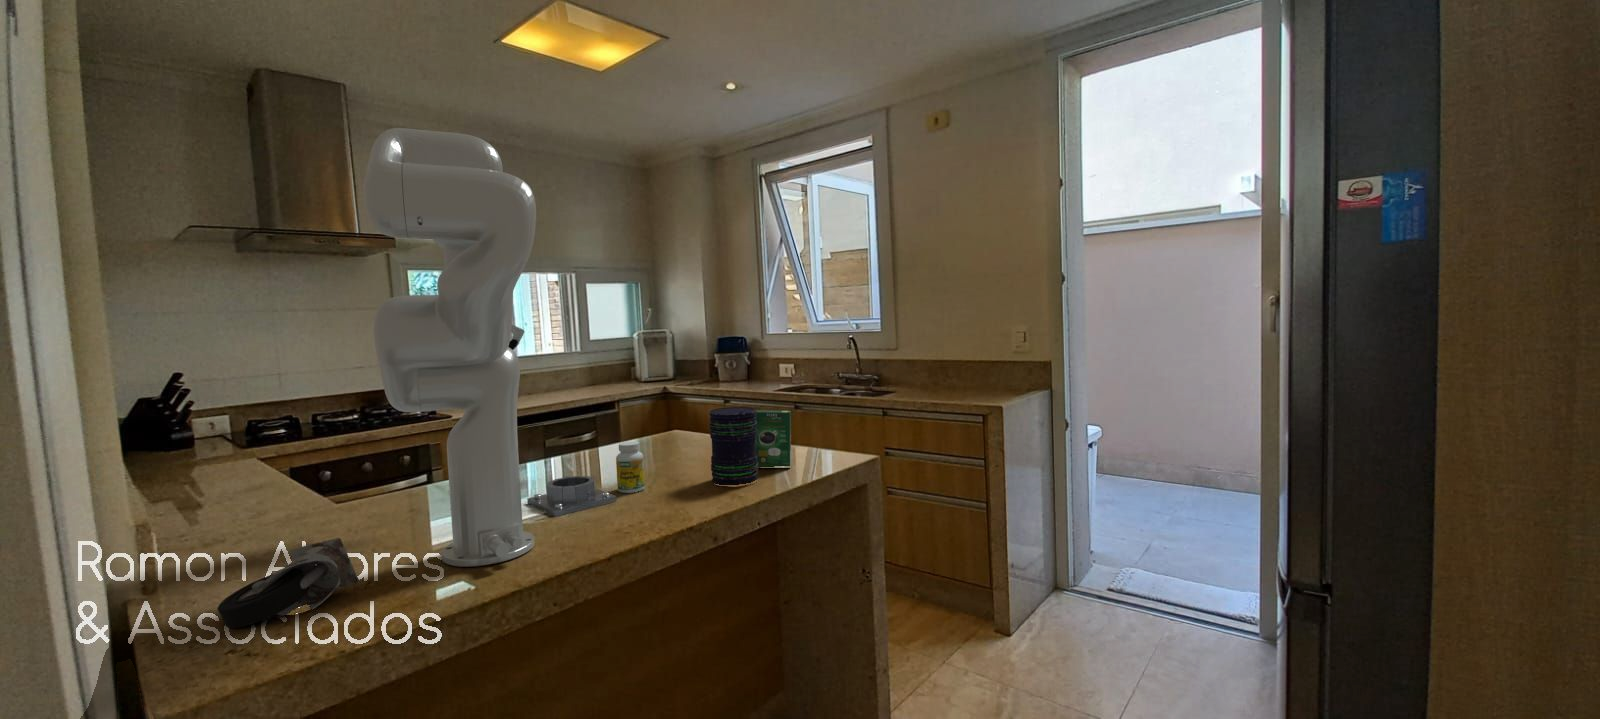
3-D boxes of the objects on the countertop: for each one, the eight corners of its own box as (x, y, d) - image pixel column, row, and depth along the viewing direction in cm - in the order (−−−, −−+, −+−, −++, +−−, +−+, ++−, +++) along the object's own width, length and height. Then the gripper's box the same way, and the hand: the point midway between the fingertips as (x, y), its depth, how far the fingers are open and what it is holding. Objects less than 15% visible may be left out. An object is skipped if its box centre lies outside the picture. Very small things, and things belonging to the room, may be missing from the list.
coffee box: (792, 466, 145) (791, 409, 144) (791, 469, 142) (790, 411, 141) (757, 466, 146) (756, 409, 145) (755, 469, 143) (754, 411, 142)
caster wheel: (215, 651, 74) (279, 600, 84) (310, 628, 74) (362, 579, 84) (189, 601, 72) (257, 555, 82) (286, 578, 72) (342, 535, 82)
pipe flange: (616, 501, 121) (615, 480, 120) (554, 516, 112) (553, 494, 112) (587, 490, 129) (586, 470, 129) (527, 503, 121) (526, 482, 121)
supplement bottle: (645, 485, 132) (643, 439, 131) (645, 492, 127) (642, 444, 126) (618, 487, 131) (615, 441, 130) (616, 494, 125) (614, 446, 125)
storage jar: (702, 481, 134) (699, 411, 133) (740, 472, 140) (737, 405, 139) (729, 490, 126) (727, 416, 125) (768, 480, 133) (766, 410, 132)
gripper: (525, 282, 119) (530, 373, 120) (425, 284, 116) (431, 377, 117) (515, 280, 112) (520, 377, 113) (407, 282, 109) (414, 381, 110)
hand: (475, 377), depth 115 cm, fingers open, 9 cm apart
